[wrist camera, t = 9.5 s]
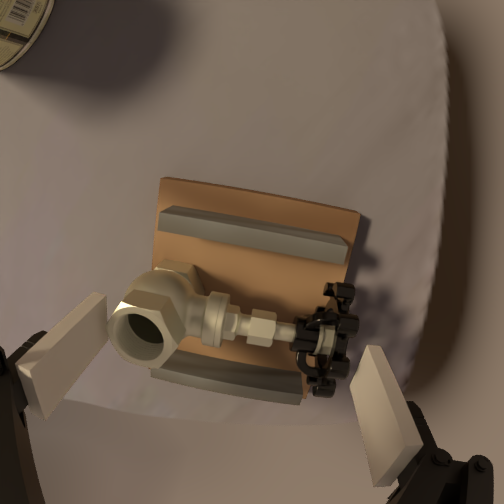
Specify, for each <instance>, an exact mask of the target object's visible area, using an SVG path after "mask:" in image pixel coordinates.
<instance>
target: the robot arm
mask: <svg viewBox="0 0 504 504" xmlns="http://www.w3.org/2000/svg"><path fill="white" fill-rule="evenodd" d="M106 324H107V301H106V295H104V294H100V293H96V292H93V293H92V294H91V295H89V296H88V297H87V298H86V299H85V300H84V301H82V302H81V303H80V304H79V305H78V306H77V307H76V308H74V309H73V310H72V311H71V312H70V313H69V314H68V315H67V316H65V317H64V318H63V319H62V320H61V321H60V322H59V323H58V324H57V325H55V326H54V327H53V328H52V329H51V330H50V331H49V332H46V331H41V332H38V333H36V334H34V335H33V336H32V337H30V338H29V339H28V340H27V342H25V343H24V344H23V345H22V347H21V346H20V347H19V348H18V349H17V350H16V351H15V352H14V353H13V354H12V355H11V356H10V357H8V358H7V359H6V356H5V352H4V349H3V348H2V347H1V346H0V504H45V501H44V497H43V494H42V490H41V487H40V483H39V479H38V475H37V471H36V467H35V463H34V459H33V454H32V449H31V444H30V439H29V434H28V428H27V421H26V416H25V412H24V409H25V408H26V406H27V405H28V406H29V408H30V411H31V414H33V415H35V416H37V417H39V418H41V419H43V420H45V421H46V420H47V418H48V417H49V416H50V414H51V413H52V412H53V410H54V409H55V408H56V406H57V405H58V404H59V402H60V401H61V400H62V398H63V397H64V396H65V394H66V393H67V392H68V391H69V389H70V388H71V387H72V385H73V384H74V383H75V381H76V380H77V379H78V378H79V376H80V375H81V374H82V372H83V371H84V370H85V369H86V367H87V366H88V365H89V364H90V362H91V361H92V360H93V359H94V357H95V356H96V355H97V354H98V352H99V351H100V350H101V349H102V347H103V346H104V345H105V344H106V342H107V341H108V334H107V332H106V329H105V326H106ZM350 390H351V394H352V398H353V402H354V405H355V409H356V413H357V417H358V421H359V425H360V429H361V434H362V438H363V442H364V446H365V451H366V455H367V459H368V464H369V468H370V472H371V477H372V482H373V487H384V486H391V485H392V483H393V482H394V481H395V480H396V479H398V483H399V486H398V487H397V488H396V489H395V490H394V492H393V493H392V494H391V495H390V496H389V497H388V499H389V500H388V502H387V503H386V504H493V494H494V493H493V492H494V489H493V488H494V482H493V481H494V480H493V478H494V477H493V465H492V463H491V462H490V460H489V459H488V458H486V457H485V456H482V455H475V456H472V457H471V459H470V460H469V461H468V462H461V461H455V460H453V459H452V457H451V455H450V454H449V453H448V452H446V451H445V450H443V449H440V448H438V447H437V445H436V443H435V441H434V438H433V436H432V434H431V431H430V429H429V427H428V425H427V422H426V420H425V419H424V416H423V414H422V411H421V409H420V408H419V407H418V406H417V405H416V404H415V403H414V402H413V401H405V399H404V397H403V394H402V392H401V390H400V387H399V385H398V383H397V381H396V378H395V376H394V374H393V372H392V370H391V367H390V365H389V363H388V361H387V359H386V357H385V355H384V352H383V350H382V348H381V346H375V345H367V346H366V348H365V351H364V353H363V356H362V358H361V361H360V363H359V365H358V368H357V370H356V373H355V375H354V377H353V380H352V382H351V384H350Z"/></svg>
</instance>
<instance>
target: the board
mask: <svg viewBox="0 0 504 504" xmlns="http://www.w3.org/2000/svg"><path fill="white" fill-rule="evenodd" d="M360 215H361V214H360V213H358V212H357V211H354V210H349V209H345V208H340V207H335V206H331V205H326V204H321V203H316V202H311V201H306V200H301V199H296V198H291V197H286V196H281V195H275V194H270V193H265V192H259V191H253V190H248V189H242V188H236V187H230V186H224V185H218V184H212V183H205V182H199V181H192V180H186V179H179V178H172V177H164V178H161V179H160V187H159V196H158V205H157V214H156V224H155V235H154V247H153V260H152V270H154V269H155V268H156V267H157V266H158V265H159V264H160V263H161V262H162V261H163V260H164V259H166V260H174V261H180V262H184V263H188V264H192V265H193V266H194V267H195V269H196V271H197V273H198V275H199V278H200V280H201V282H202V285H203V287H204V290H205V294H204V296H209V295H210V293H211V292H212V291H215V292H220V293H225V294H229V295H230V305H236V306H239V307H240V312H241V313H242V314H246V315H251V314H252V310H253V309H258V310H264V311H269V312H275V313H276V315H277V321H278V322H284V323H290V324H292V323H293V320H294V318H295V316H304V315H308V314H314V312H315V309H316V307H317V306H323V307H325V306H326V304H327V302H328V301H329V300H330V297H329V296H324V295H323V290H324V286H325V284H326V283H327V282H330V283H335V282H342V283H343V282H344V278H345V275H346V271H347V267H348V264H349V260H350V256H351V252H352V248H353V244H354V240H355V236H356V232H357V228H358V224H359V220H360ZM295 356H296V352H293V351H290V350H289V342H288V341H281V340H275V339H273V342H272V345H271V346H270V347H265V346H259V345H254V344H248V343H247V336H243V335H237V336H236V337H235V339H234V340H233V341H231V340H226V339H223V341H222V345H221V347H220V348H216V347H211V346H206V345H202V343H201V338H197V337H193V336H187V337H185V338H184V339H183V340H181V342H180V344H179V346H178V347H177V349H176V350H175V351H174V352H173V353H172V355H171V356H170V357H169V358H168V359H167V360H166V361H165V362H164V364H163V365H162V366H161V367H160V368H159V369H156V368H149V369H151V377H153V378H157V379H161V380H165V381H169V382H173V383H177V384H181V385H185V386H190V387H194V388H198V389H203V390H208V391H213V392H218V393H223V394H228V395H233V396H239V397H244V398H250V399H256V400H263V401H270V402H277V403H284V404H292V405H300V402H301V400H302V398H303V399H306V397H307V394H308V391H309V388H310V386H311V385H307V383H306V378H307V375H305V374H304V373H303V372H301V371H300V369H299V368H298V366H297V364H296V360H295ZM306 363H307V364H308V365H309V366H312V367H315V357H312V356H308V354H307V356H306Z"/></svg>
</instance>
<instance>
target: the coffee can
mask: <svg viewBox="0 0 504 504" xmlns="http://www.w3.org/2000/svg"><path fill="white" fill-rule="evenodd" d="M54 1H55V0H0V70H3V69H5V68H7V67H9V66H10V65H12V64H14V63H15V62H16V61H17V60H18V59H19V58H20V57H22V56H23V54H24V53H26V51H27V50H28V49H29V48H30V47H31V45H32V44H33V43H34V42H35V40H36V39H37V37H38V36H39V34H40V33H41V31H42V30H43V28H44V26H45V24H46V22H47V20H48V18H49V15H50V13H51V11H52V8H53V5H54Z"/></svg>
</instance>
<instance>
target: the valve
mask: <svg viewBox="0 0 504 504" xmlns="http://www.w3.org/2000/svg"><path fill="white" fill-rule="evenodd" d="M204 294H205V290H204V287H203V285H202V282H201V280H200V278H199V275H198V273H197V271H196V269H195V267H194V266H193V265H192V264H188V263H184V262H180V261H174V260H166V259H164V260H163V261H162V262H161V263H160V264H159V265H158V266H157V267H156V268H155V269H154V270H152V271H149V272H146V273H144V274H142V275H140V276H139V277H137V278H136V279H135V280H134V281H133V282H132V283H131V285H130V286H129V288H128V289H127V291H126V293H125V296H124V299H123V300H122V302H121V303H120V304H119V306H118V307H117V309H116V310H115V312H114V313H113V315H112V316H111V318H110V319H109V321H108V322H107V324H106V326H105V329H106V332H107V334H108V337H109V339H110V341H111V343H112V345H113V346H114V348H115V349H116V351H117V352H118V354H119V355H120V356H121V357H122V358H123V359H124V360H126V361H128V362H130V363H133V364H136V365H139V366H143V367H148V368H156V369H159V368H160V367H161V366H162V365H163V364H164V362H165V361H166V360H167V359H168V358H169V357H170V356H171V355H172V353H173V352H174V351H175V350H176V349H177V347H178V346H179V344H180V342H181V340H183V339H184V338H185V337H187V336H193V337H197V338H201V343H202V345H206V346H211V347H216V348H220V347H221V345H222V341H223V339H226V340H231V341H233V340H234V339H235V337H236V336H237V335H243V336H247V343H248V344H254V345H259V346H265V347H270V346H271V345H272V342H273V339H275V340H281V341H288V342H289V350H290V351H293V352H296V356H295V360H296V364H297V366H298V368H299V369H300V371H301V372H303V373H304V374H305V375H307V378H306V383H307V385H312V386H313V396H315V397H325V398H331V397H332V396H333V395H334V392H335V388H336V381H335V379H341V380H344V379H346V378H347V376H348V374H349V371H350V360H349V358H348V357H346V349H347V344H348V340H349V338H354V337H355V336H356V334H357V332H358V328H359V318H358V316H357V315H354V314H349V306H350V305H351V304H352V302H353V300H354V296H355V287H354V285H353V284H348V283H342V282H335V283H330V282H327V283H326V284H325V286H324V290H323V295H324V296H329V297H330V300H329V301H328V302H327V304H326V306H325V307H323V306H317V307H316V309H315V312H314V314H308V315H304V316H295V318H294V320H293V323H292V324H290V323H284V322H278V321H277V315H276V313H275V312H269V311H264V310H258V309H253V310H252V314H251V315H246V314H242V313H241V312H240V307H239V306H236V305H230V295H229V294H225V293H220V292H215V291H212V292H211V293H210V295H209V296H204ZM307 354H308V356H312V357H315V367H312V366H309V365H308V364H307V363H306V356H307ZM327 355H330V356H329V358H328V361H327Z"/></svg>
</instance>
